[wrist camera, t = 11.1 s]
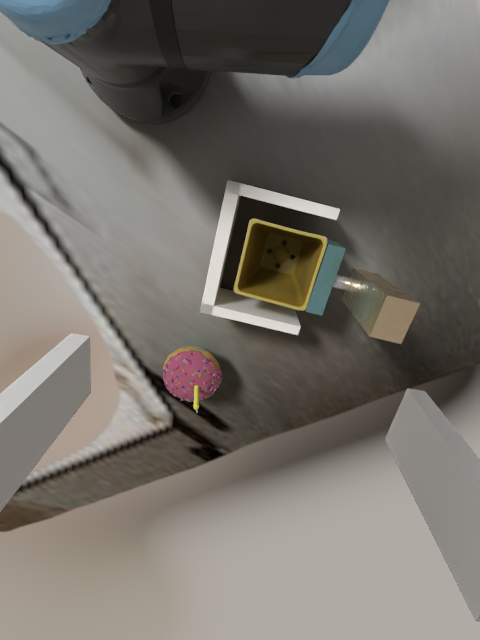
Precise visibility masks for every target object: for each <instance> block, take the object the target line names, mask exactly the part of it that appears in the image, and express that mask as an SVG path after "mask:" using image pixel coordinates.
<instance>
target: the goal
mask: <svg viewBox="0 0 480 640" xmlns="http://www.w3.org/2000/svg"><path fill="white" fill-rule="evenodd" d="M241 196H244V197H248V198H252V199H256V200H260V201H264V202H267V203H271V204H275V205H279V206H283V207H287V208H291V209H295V210H298V211H302V212H306V213H310V214H314V215H318V216H322V217H326V218H329V219H333V220H337V218H338V215H339V212H340V209H338V208H334V207H330V206H327V205H323V204H319V203H315V202H311V201H307V200H303V199H300V198H296V197H292V196H288V195H284V194H280V193H277V192H273V191H269V190H265V189H261V188H257V187H254V186H250V185H246V184H242V183H238V182H234V181H230V180H227V185H226V189H225V194H224V199H223V204H222V208H221V213H220V218H219V223H218V228H217V232H216V237H215V242H214V247H213V251H212V256H211V261H210V266H209V271H208V275H207V280H206V285H205V290H204V294H203V299H202V304H201V309H200V312H202V313H206V314H210V315H215V316H219V317H223V318H227V319H231V320H236V321H240V322H244V323H248V324H252V325H257V326H261V327H265V328H269V329H273V330H278V331H282V332H286V333H290V334H294V335H298V333H299V330H300V327H301V326H300V323H299V320H298V317H297V314H296V311H295V309H291V308H288V307H285V306H281V305H277V304H274V303H270V302H266V301H262V300H259V299H255V298H251V297H247V296H244V295H240V294H237V293H235V292H234V291H232V290H228V289H224V288H220V285H221V281H222V276H223V272H224V267H225V263H226V258H227V254H228V250H229V245H230V241H231V236H232V232H233V228H234V223H235V219H236V214H237V210H238V206H239V201H240V197H241Z"/></svg>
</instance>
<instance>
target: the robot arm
mask: <svg viewBox="0 0 480 640" xmlns="http://www.w3.org/2000/svg"><path fill="white" fill-rule="evenodd" d="M388 2H389V0H0V11H1V12H2V13H3V14H4V15H5V16H6V17H8V19H9V20H10V21H11V22H12V23H13V24H14V25H15V26H16V27H17V28H18V29H19V30H21V31H22V32H24V33H26V34H27V35H28V36H29V37H33V38H34V39H35V40H37V41H41V42H42V43H44V44H45V45H47V46H48V47H50V48H51V49H53V50H54V51H56V52H57V53H59V54H60V55H62V56H63V57H65V58H66V59H68V60H69V61H71V62H72V63H74V64H75V65H76V66H78V67H79V68H80V69H81V71H82V73H83V75H84V77H85V79H86V81H87V83H88V84H89V86H90V87H91V88H92V90H93V91H94V92H95V93H96V95H97V96H98V97H99V98H100V99H101V100H102V101H103V102H104V103H105V104H106V105H107V106H109V107H110V108H111V109H113V110H114V111H116V112H117V113H119V114H121V115H123V116H124V117H126V118H128V119H131V120H133V121H136V122H140V123H144V124H162V123H166V122H170V121H172V120H175V119H177V118H179V117H180V116H182V115H183V114H185V113H186V112H187V111H189V110H190V109H191V108H192V107H193V106H194V105H195V103H196V102H197V101H198V99H199V98H200V96H201V95H202V93H203V91H204V89H205V87H206V85H207V83H208V80H209V77H210V73H211V71H225V72H240V73H255V74H270V75H285V76H286V77H288V78H295V77H296V78H299V77H301V76H304V75H332V74H335V73H338V72H340V71H342V70H344V69H346V68H347V67H348V66H349V65H351V64H352V63H353V62H354V60H355V59H356V58H357V57H358V56H359V55H360V53H361V52H362V51H363V49H364V48H365V46H366V45H367V43H368V42H369V40H370V38H371V37H372V35H373V33H374V31H375V29H376V28H377V26H378V24H379V22H380V20H381V18H382V15H383V13H384V11H385V9H386V7H387V5H388ZM90 375H91V374H90V336H84V335H78V334H70V335H68V336H67V337H66V338H65V339H64V340H63V341H61V342H60V343H59V344H58V345H57V346H55V347H54V348H53V349H52V350H51V351H50V352H48V353H47V354H46V355H45V356H44V357H43V358H41V359H40V360H39V361H38V362H37V363H35V364H34V365H33V366H32V367H31V368H30V369H29V370H27V371H26V372H25V373H24V374H23V375H21V376H20V377H19V378H18V379H17V380H16V381H14V382H13V383H12V384H11V385H10V386H9V387H7V388H6V389H5V390H4V391H3V392H1V393H0V512H1V510H2V509H3V508H4V507H5V505H6V504H7V503H8V501H9V500H10V499H11V497H12V496H13V495H14V493H15V492H16V491H17V489H18V488H19V487H20V485H21V484H22V483H23V481H24V480H25V479H26V478H27V476H28V475H29V474H30V472H31V471H32V470H33V468H34V467H35V466H36V464H37V463H38V462H39V460H40V459H41V458H42V456H43V455H44V454H45V452H46V451H47V450H48V448H49V447H50V446H51V445H52V443H53V442H54V440H55V439H56V438H57V437H58V435H59V434H60V433H61V431H62V430H63V429H64V427H65V426H66V425H67V423H68V422H69V421H70V419H71V418H72V417H73V415H74V414H75V413H76V412H77V410H78V409H79V408H80V406H81V405H82V404H83V402H84V401H85V400H86V398H87V397H88V395H89V394H90V393H91V377H90ZM385 440H386V442H387V444H388V446H389V448H390V450H391V452H392V454H393V456H394V458H395V460H396V462H397V464H398V466H399V468H400V470H401V472H402V474H403V476H404V478H405V480H406V482H407V484H408V487H409V488H410V491H411V492H412V494H413V497H414V498H415V501H416V502H417V504H418V506H419V508H420V511H421V512H422V515H423V516H424V518H425V521H426V523H427V524H428V527H429V529H430V531H431V533H432V535H433V536H434V539H435V541H436V543H437V545H438V547H439V549H440V551H441V553H442V555H443V557H444V559H445V561H446V563H447V565H448V567H449V569H450V571H451V572H452V575H453V577H454V579H455V581H456V583H457V585H458V586H459V589H460V591H461V593H462V595H463V597H464V599H465V601H466V603H467V605H468V607H469V609H470V611H471V613H472V615H473V617H474V619H475V621H480V460H479V458H478V457H477V456H476V454H475V453H474V452H473V451H472V449H471V448H470V447H469V446H468V444H467V443H466V442H465V441H464V439H463V438H462V437H461V436H460V434H459V433H458V432H457V431H456V429H455V428H454V427H453V425H452V424H451V423H450V422H449V420H448V419H447V418H446V417H445V415H444V414H443V413H442V412H441V410H440V409H439V408H438V407H437V405H436V404H435V403H434V402H433V400H432V399H431V398H430V397H429V395H428V394H427V393H426V392H425V391H420V390H414V389H408V388H407V390H406V392H405V395H404V397H403V399H402V402H401V404H400V406H399V408H398V411H397V413H396V415H395V418H394V420H393V422H392V425H391V427H390V429H389V432H388V434H387V436H386V438H385Z"/></svg>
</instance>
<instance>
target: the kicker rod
mask: <svg viewBox="0 0 480 640" xmlns="http://www.w3.org/2000/svg"><path fill="white" fill-rule="evenodd" d="M327 240H328V242H327V246H326V250H325V253H324V255H323V258H322V261H321V264H320V267H319V270H318V273H317V276H316V280H315V283H314V286H313V289H312V292H311V295H310V299H309V302H308V305H307V308H306V309H305V312H309V313H313V314H317V315H321V316H322V314H323V312H324V309H325V306H326V303H327V300H328V298H329V295H330V292H331V289H332V288H336V289H340V290H344V294H343V296H342V299H341V300H342V302H343V303H344V304H345V305H346V307H347V308H348V309H349V311H350V312H351V313H352V315H353V316H354V317H355V318H356V320H357V321H358V322H359V324H360V325H361V326H362V327H363V329H364V330H365V331H366V333H367V334H368V335H369V337H373V338H378V339H382V340H386V341H390V342H394V343H398V344H401V343H402V341H403V339H404V337H405V335H406V333H407V331H408V329H409V326H410V324H411V322H412V320H413V318H414V316H415V314H416V312H417V309H418V307H419V305H420V303H419V302H417V301H416V300H415V299H413V298H412V297H410V296H409V295H407V294H406V293H405V292H403V291H402V290H400V289H399V288H397V287H396V286H395V285H393V284H392V283H390V282H389V281H387V280H386V279H385V278H383V277H382V276H380V275H379V274H376V273H372V272H368V271H364V270H360V269H356V268H353V270H352V272H351V275H350V278H349V277H345V276H341V275H337V273H338V270H339V267H340V264H341V261H342V259H343V256H344V253H345V250H346V248H344V247H343V246H341V245H340V244H338V243H337V242H335V241H334V240H330V239H327Z"/></svg>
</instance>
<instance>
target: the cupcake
mask: <svg viewBox="0 0 480 640" xmlns="http://www.w3.org/2000/svg"><path fill="white" fill-rule="evenodd" d="M163 380H164V383H165V386H166V388H167V389H168V391H170V393H172V394H173V395H174V396H175V397H179V398H181V400H182V399H183V400H186V401H188V402H189V401H194V409H196V412H197V413H198V408H199V402H200V400H204V399H207V398H208V397H210V396H212V394H214V392H215V391H216V390H217V389H219V385H220V383H221V381H222V372H221V370H220V366H219V363H218V361H217V360H216V358H215V357H214V356H213V355H212V354H211V353H210V352H209V351H208V350H206V349H205V348H202V347H198V346H195V347H194V346H191V347H182V348H178V349H177V350H175V351H174V352H173V353H171V354H170V355H169V356H168V357H167V359H166V361H165V363H164V367H163Z"/></svg>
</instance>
